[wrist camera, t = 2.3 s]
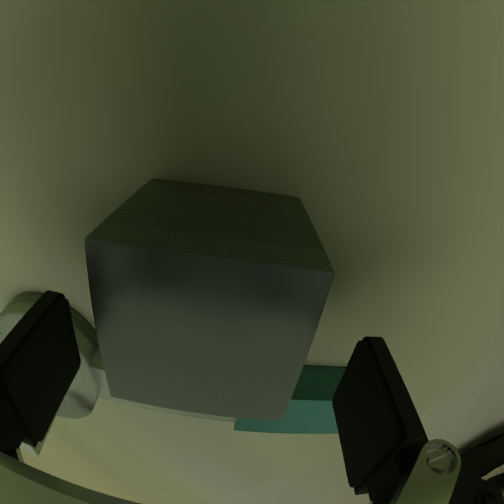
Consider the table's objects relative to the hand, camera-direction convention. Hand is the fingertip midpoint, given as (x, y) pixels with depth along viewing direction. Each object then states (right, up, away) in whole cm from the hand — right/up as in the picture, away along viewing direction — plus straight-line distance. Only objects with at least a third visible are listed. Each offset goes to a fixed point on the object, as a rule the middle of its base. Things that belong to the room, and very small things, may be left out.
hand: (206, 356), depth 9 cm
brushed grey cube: (0, +3, +5) cm, 6 cm away
